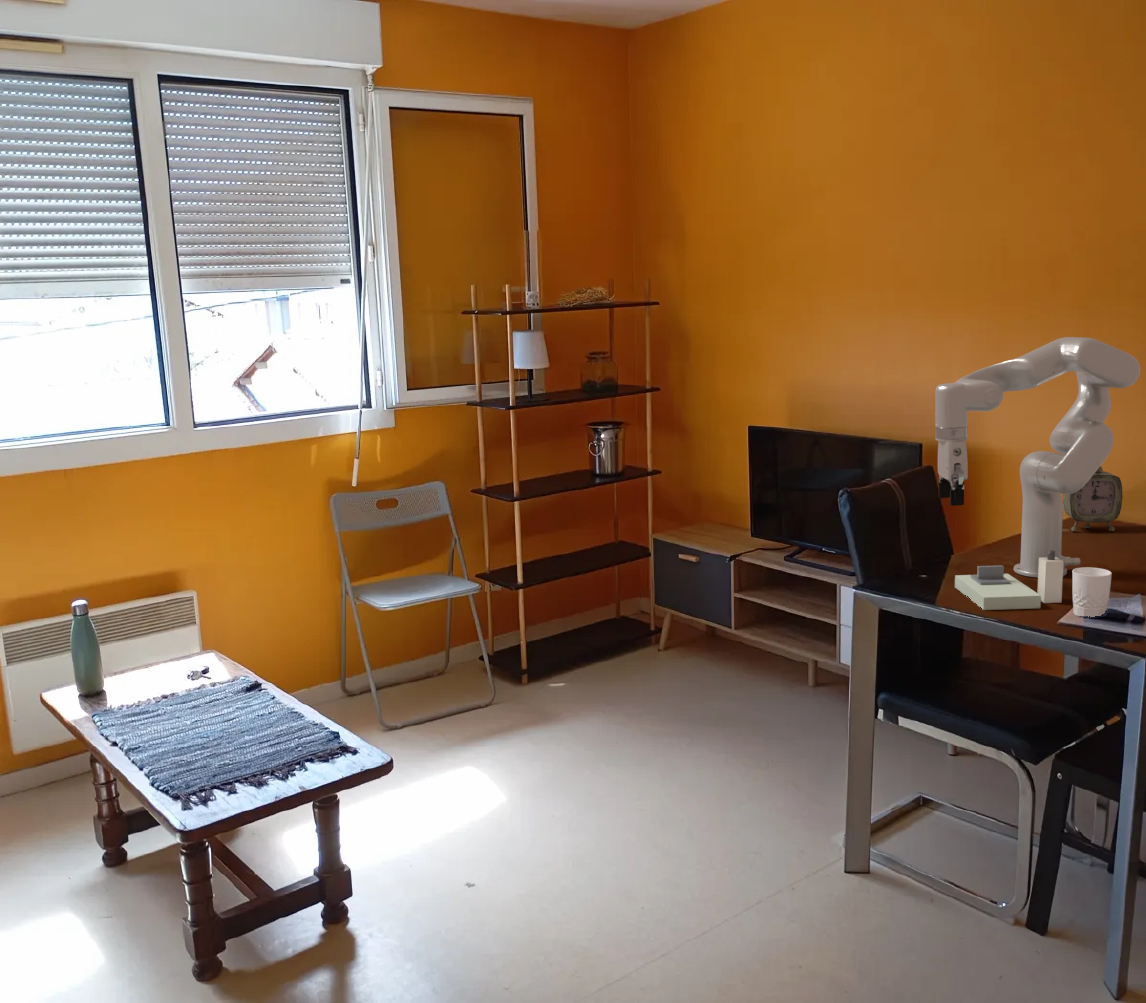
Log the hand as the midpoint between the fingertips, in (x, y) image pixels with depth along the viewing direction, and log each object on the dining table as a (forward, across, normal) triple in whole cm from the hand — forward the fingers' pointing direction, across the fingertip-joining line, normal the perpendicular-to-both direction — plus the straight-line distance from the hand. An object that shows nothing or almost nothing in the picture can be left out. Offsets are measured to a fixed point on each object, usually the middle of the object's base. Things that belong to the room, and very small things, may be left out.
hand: (951, 501), depth 260 cm
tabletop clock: (+23, +55, -57) cm, 82 cm away
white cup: (+22, -29, -22) cm, 43 cm away
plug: (+21, -17, -18) cm, 33 cm away
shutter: (+18, -10, -7) cm, 22 cm away
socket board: (+21, -14, -7) cm, 26 cm away
